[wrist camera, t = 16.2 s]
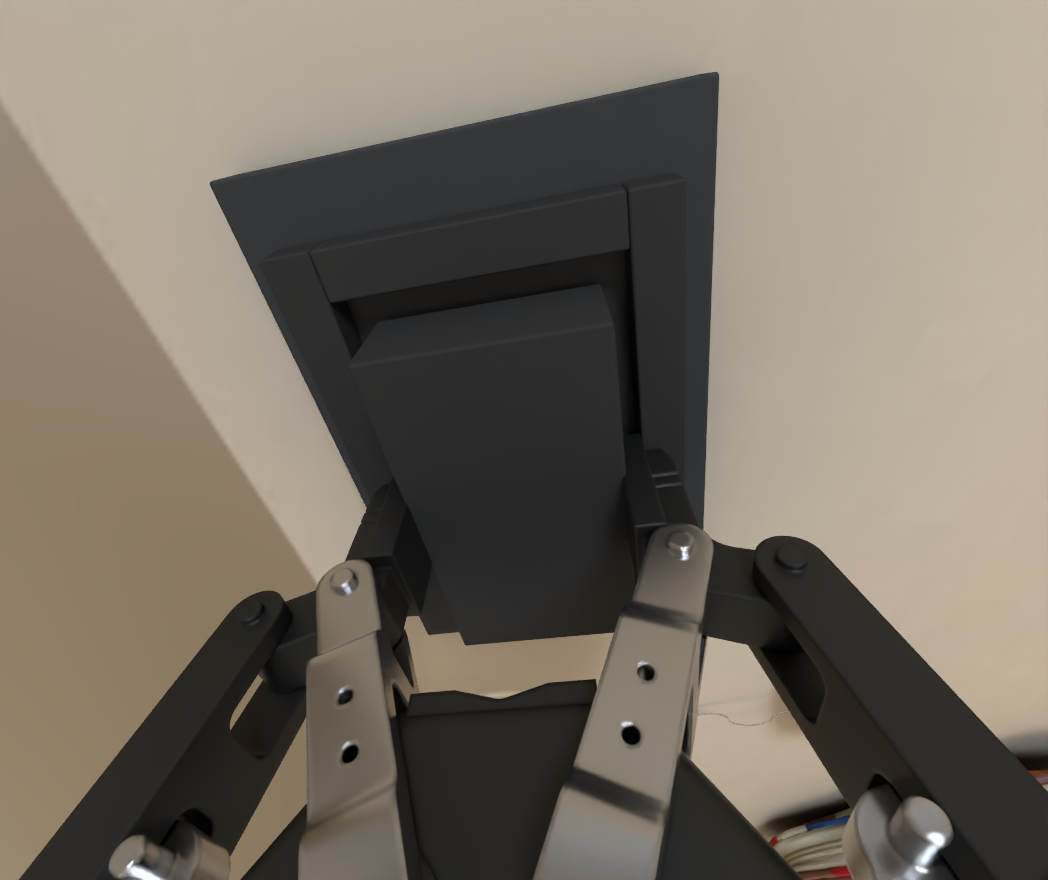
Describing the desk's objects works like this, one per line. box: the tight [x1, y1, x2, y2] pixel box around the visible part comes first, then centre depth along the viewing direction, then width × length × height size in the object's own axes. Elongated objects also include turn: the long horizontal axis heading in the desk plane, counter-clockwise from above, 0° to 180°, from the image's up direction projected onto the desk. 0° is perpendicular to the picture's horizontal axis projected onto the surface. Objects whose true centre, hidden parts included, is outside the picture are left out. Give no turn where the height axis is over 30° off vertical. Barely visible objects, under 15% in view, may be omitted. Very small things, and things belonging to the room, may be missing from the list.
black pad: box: [348, 284, 635, 645], centre depth 14 cm, size 10×6×2 cm, turn 10°
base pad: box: [210, 72, 719, 635], centre depth 15 cm, size 17×11×2 cm, turn 10°
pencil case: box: [769, 769, 1048, 880], centre depth 29 cm, size 11×20×5 cm, turn 123°
